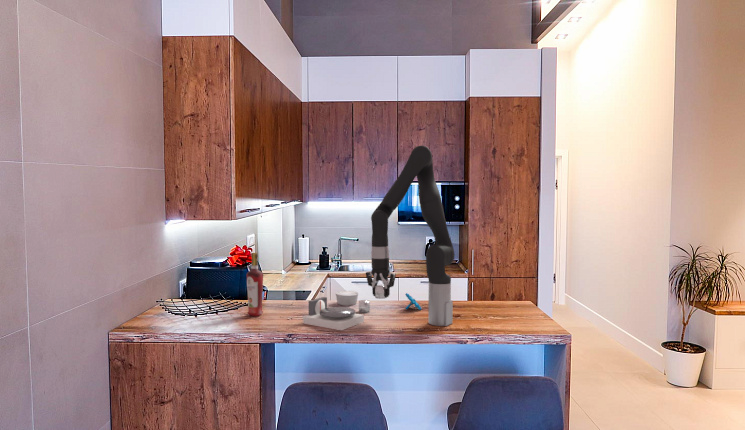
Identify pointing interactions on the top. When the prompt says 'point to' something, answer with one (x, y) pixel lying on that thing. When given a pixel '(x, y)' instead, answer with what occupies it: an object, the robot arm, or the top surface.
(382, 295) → the block
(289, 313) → the top surface
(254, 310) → the liquor
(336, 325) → the scale
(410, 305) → the blue plastic branched piece
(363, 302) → the spacer
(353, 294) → the ramekin
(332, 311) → the pan
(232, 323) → the top surface
